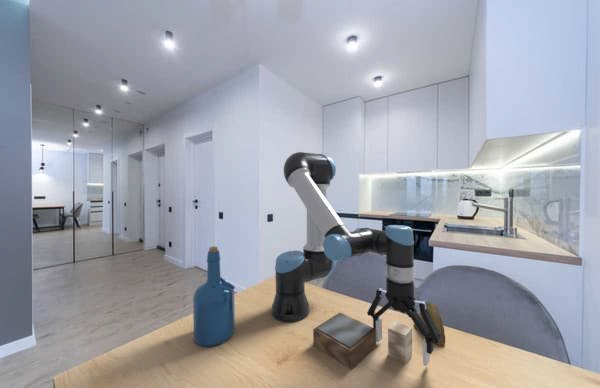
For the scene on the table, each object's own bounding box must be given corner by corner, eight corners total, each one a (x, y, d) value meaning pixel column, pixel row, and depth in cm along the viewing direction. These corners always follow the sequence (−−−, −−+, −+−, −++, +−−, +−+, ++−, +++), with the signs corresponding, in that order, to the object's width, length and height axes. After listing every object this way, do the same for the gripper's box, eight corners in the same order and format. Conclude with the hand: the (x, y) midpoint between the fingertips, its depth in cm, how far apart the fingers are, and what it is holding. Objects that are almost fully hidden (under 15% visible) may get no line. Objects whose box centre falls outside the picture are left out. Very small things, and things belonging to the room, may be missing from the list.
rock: (456, 342, 68) (448, 320, 77) (437, 318, 69) (431, 299, 78) (424, 354, 72) (420, 332, 81) (406, 332, 73) (404, 312, 82)
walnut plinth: (313, 344, 71) (313, 328, 71) (339, 326, 81) (339, 311, 81) (351, 369, 61) (351, 350, 61) (376, 344, 71) (376, 328, 71)
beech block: (388, 354, 67) (388, 328, 66) (395, 346, 70) (395, 321, 70) (405, 364, 63) (405, 335, 63) (412, 354, 66) (412, 328, 66)
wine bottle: (199, 354, 67) (198, 254, 67) (188, 333, 78) (187, 246, 77) (242, 335, 76) (241, 247, 76) (227, 319, 86) (226, 240, 86)
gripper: (355, 271, 73) (356, 337, 73) (445, 296, 55) (446, 383, 55) (367, 266, 78) (368, 327, 78) (453, 287, 60) (454, 366, 60)
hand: (400, 350), depth 66 cm, fingers open, 13 cm apart
